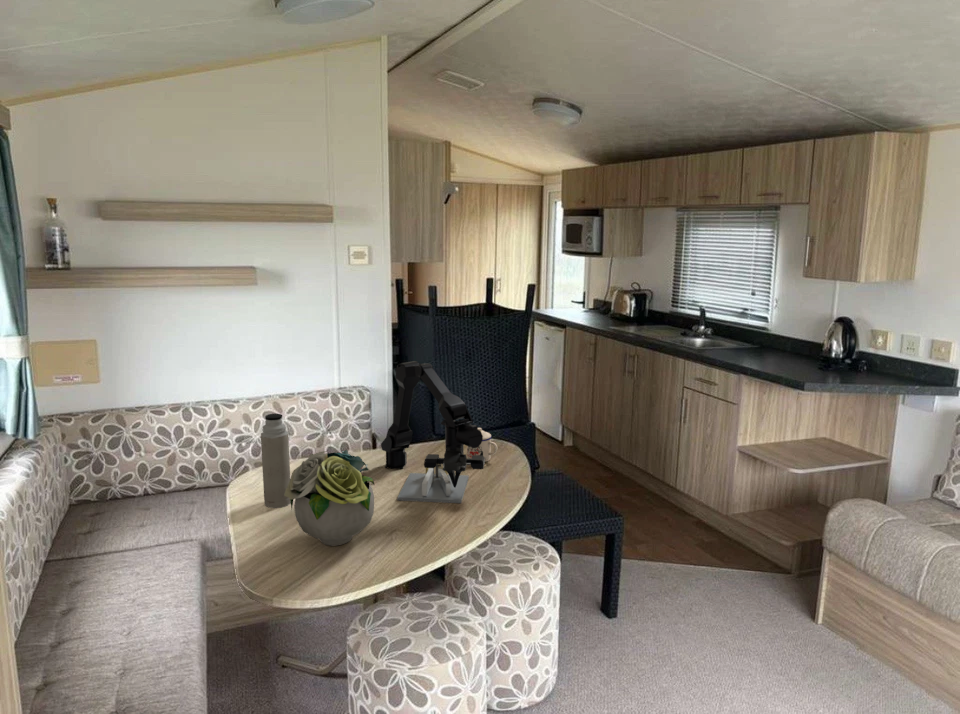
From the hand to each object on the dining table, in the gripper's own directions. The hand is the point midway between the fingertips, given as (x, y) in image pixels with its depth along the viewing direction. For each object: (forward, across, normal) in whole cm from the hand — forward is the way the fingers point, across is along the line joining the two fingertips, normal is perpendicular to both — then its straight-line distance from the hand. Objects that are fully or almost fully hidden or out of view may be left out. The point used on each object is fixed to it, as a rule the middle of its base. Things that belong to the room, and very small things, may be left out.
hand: (454, 487), depth 220 cm
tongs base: (+2, -7, +3) cm, 8 cm away
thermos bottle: (+2, -53, -14) cm, 55 cm away
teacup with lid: (+2, +6, +32) cm, 33 cm away
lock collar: (0, -7, +11) cm, 13 cm away
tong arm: (+1, -4, +2) cm, 5 cm away
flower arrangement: (+2, -28, -36) cm, 46 cm away
